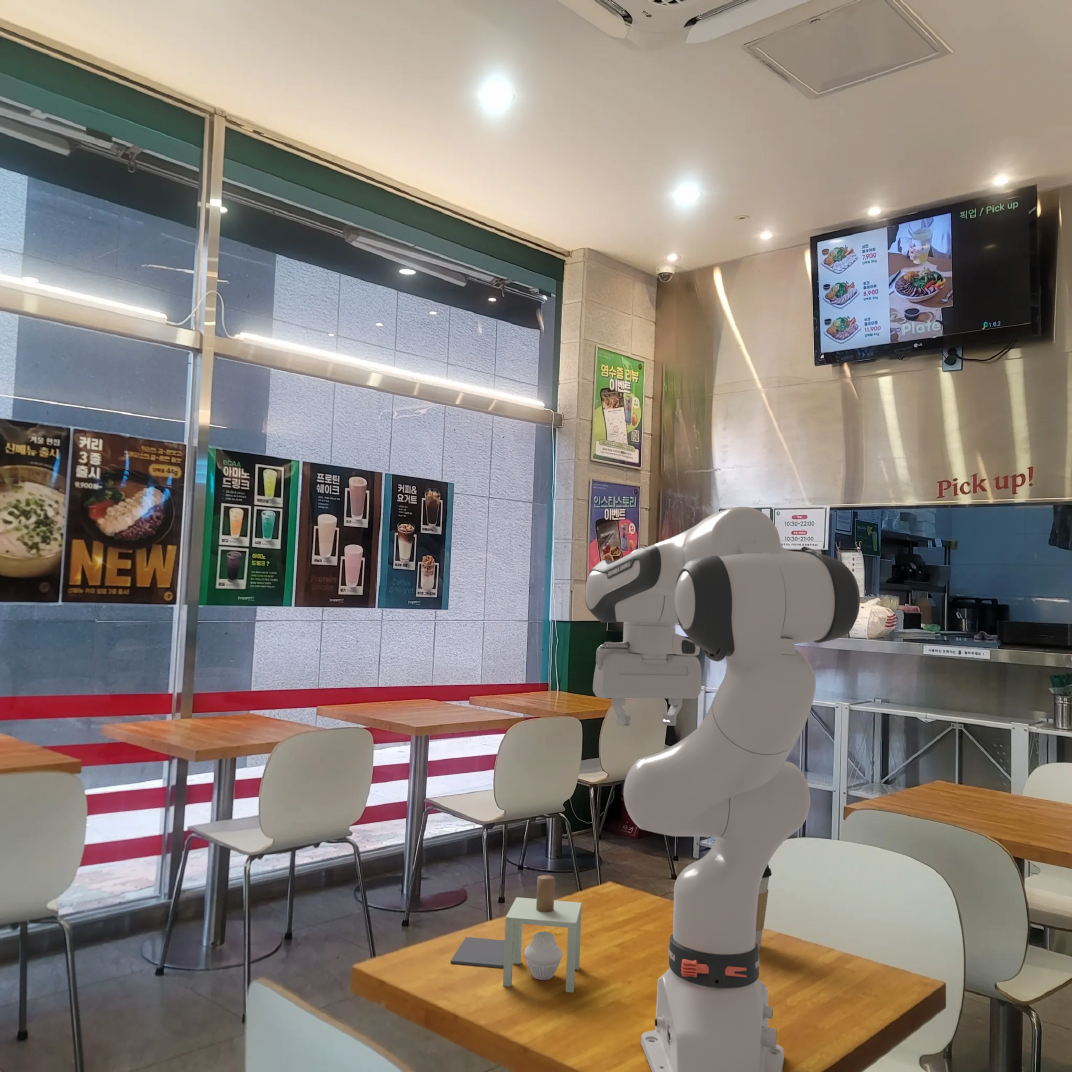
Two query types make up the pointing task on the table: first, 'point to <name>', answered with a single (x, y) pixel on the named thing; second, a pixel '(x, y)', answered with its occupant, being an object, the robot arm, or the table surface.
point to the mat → (480, 952)
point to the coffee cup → (762, 905)
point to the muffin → (543, 956)
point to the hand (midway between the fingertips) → (646, 725)
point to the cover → (543, 914)
